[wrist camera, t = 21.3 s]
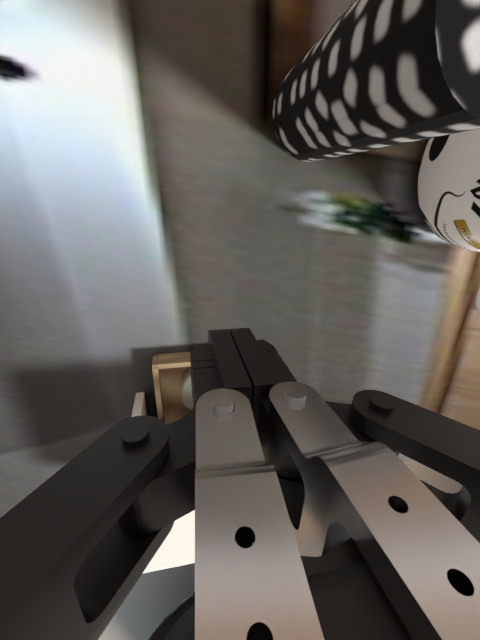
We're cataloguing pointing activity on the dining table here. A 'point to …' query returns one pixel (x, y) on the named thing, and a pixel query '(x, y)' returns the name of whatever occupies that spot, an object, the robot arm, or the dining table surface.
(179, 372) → the tray
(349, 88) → the white-spotted black cylinder
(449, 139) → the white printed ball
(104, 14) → the dining table surface
